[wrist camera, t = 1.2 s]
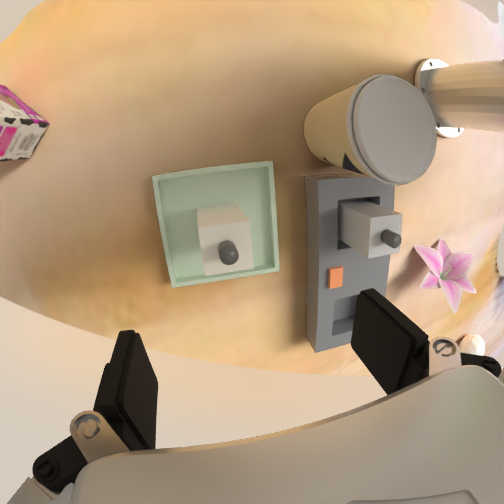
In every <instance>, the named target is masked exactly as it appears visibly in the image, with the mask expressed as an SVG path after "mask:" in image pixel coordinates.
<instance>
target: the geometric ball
mask: <svg viewBox="0 0 504 504" xmlns="http://www.w3.org/2000/svg"><path fill="white" fill-rule="evenodd" d="M484 348H485V343H484V341H483V339H482V338H481V336H479V335H476V334H473V333H472V334H470V335H468V336H466V337H464V338H463V339H462V340H461V342H460V344H459V349H460V352H461V353H468V354H474V355H481V356H483V354H484Z"/></svg>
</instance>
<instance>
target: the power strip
mask: <svg viewBox="0 0 504 504" xmlns="http://www.w3.org/2000/svg"><path fill="white" fill-rule="evenodd" d="M305 196H306V225H307V324H306V338H307V340H308V341H309V343H310V345H311V346H312V348H313V350H314V351H315V353H317V352H320V351H324V350H328V349H331V348H335V347H338V346H342V345H345V344H348V343H351V337H352V330H353V323H354V316H355V309H356V300H357V296H358V295H359V294H360V292H361V291H362V290H366V289H370V288H374V289H375V290H376V291H378V292H379V293H380V294H381V295H382V296H384V297H385V292H386V285H387V278H388V270H389V262H390V254H389V255H384V256H379V257H374V258H369V259H368V258H367V257H365V256H364V255H362V254H361V253H359V252H358V251H356V250H355V249H353V248H352V247H350V246H349V245H347V244H346V243H344V242H343V241H341V240H340V239H338V200H350V199H363V200H366V201H369V202H371V203H374V204H377V205H380V206H382V207H385V208H388V209H390V210H393V211H394V185H390V184H386V183H383V182H381V181H379V180H377V179H375V178H372V177H369V176H366V175H363V174H360V173H359V174H334V175H316V176H305Z"/></svg>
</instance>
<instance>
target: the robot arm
mask: <svg viewBox="0 0 504 504" xmlns="http://www.w3.org/2000/svg"><path fill="white" fill-rule="evenodd" d="M415 87H416V88H417V89H418V90H419V91H420V93H421V94H422V95H423V96H424V98H425V99H426V101H427V102H428V104H429V106H430V108H431V111H432V113H433V116H434V120H435V124H436V133H437V134H439V135H440V136H443V137H448V138H454V137H457V136H459V135H460V134H461V133H462V132H463V130H464V129H477V130H488V131H497V132H504V60H495V61H483V62H474V63H466V64H458V65H451V66H448V65H447V64H446V63H445V62H443V61H441V60H439V59H427V60H425V61H423V62H421V64H420V65H419V66H418V68H417V70H416V75H415ZM428 337H429V336H428V335H427V334H426V333H425V332H424V331H422V330H421V329H420V328H419V327H418V326H417V325H416V324H415V323H413V322H412V321H411V320H410V319H409V318H408V317H407V316H406V315H404V314H403V313H402V312H401V311H400V310H399V309H398V308H396V307H395V306H394V305H393V304H392V303H391V302H389V301H388V300H387V299H386V298H385V297H384V296H382V295H381V294H380V293H379V292H378V291H376V290H375V289H374V288H370V289H366V290H362V291H361V292H360V294H359V295H358V296H357V300H356V309H355V316H354V323H353V330H352V337H351V346H352V349H353V350H354V351H355V353H356V354H357V355H358V357H359V358H360V359H361V360H362V362H363V363H364V364H365V366H366V367H367V368H368V370H369V371H370V372H371V374H372V375H373V376H374V378H375V379H376V380H377V382H378V383H379V384H380V386H381V387H382V388H383V390H384V391H385V392H386V393H387V396H385V397H383V398H380V399H378V400H376V401H373V402H371V403H368V404H365V405H363V406H361V407H358V408H355V409H352V410H350V411H347V412H344V413H341V414H338V415H335V416H332V417H329V418H326V419H323V420H320V421H316V422H313V423H310V424H306V425H302V426H299V427H295V428H291V429H287V430H283V431H280V432H275V433H271V434H266V435H261V436H256V437H251V438H246V439H240V440H235V441H228V442H221V443H215V444H206V445H197V446H189V447H177V448H162V449H155V442H156V441H155V440H156V414H157V395H158V381H157V378H156V376H155V373H154V371H153V368H152V366H151V363H150V361H149V358H148V356H147V353H146V350H145V348H144V345H143V342H142V340H141V337H140V334H139V333H135V331H134V330H125V331H120V332H119V335H118V338H117V341H116V344H115V347H114V351H113V354H112V358H111V361H110V363H107V364H106V366H105V368H104V371H103V375H102V378H101V382H100V385H99V389H98V393H97V397H96V400H95V404H94V408H93V411H84V412H81V413H79V414H78V415H77V416H75V417H74V419H73V420H72V421H71V424H70V432H71V436H69V437H68V438H67V439H65V440H63V441H62V442H61V443H59V444H58V445H56V446H55V447H53V448H52V449H50V450H49V451H47V452H45V453H44V454H42V455H41V456H39V457H38V458H37V459H36V460H35V462H34V464H33V475H34V476H33V477H32V479H31V478H29V477H28V478H27V479H26V481H25V482H24V483H23V484H22V485H21V487H20V488H19V489H18V490H17V492H16V493H15V494H14V495H13V497H12V498H11V499H10V500H9V502H8V503H7V504H504V368H503V370H501V366H500V364H499V363H498V362H497V361H496V360H495V359H494V358H492V357H488V356H481V355H474V354H468V353H461V352H460V349H459V346H458V345H457V343H456V342H455V341H453V340H452V339H449V338H446V337H437V338H434V339H433V340H431V342H429V341H428Z"/></svg>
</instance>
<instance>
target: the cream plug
mask: <svg viewBox="0 0 504 504" xmlns="http://www.w3.org/2000/svg"><path fill="white" fill-rule="evenodd" d="M197 221H198V233H199V240H200V246H201V253H202V259H203V265H204V271H205V276H208V275H214V274H221V273H227V272H234V271H240V270H246V269H253V268H254V262H253V251H252V240H251V228H250V220H249V219H248V218H247V217H246V215H245V214H244V213H243V212H242V210H241V209H240V208H239V206H238V205H237V204H236V203H228V204H220V205H213V206H206V207H199V208H197Z"/></svg>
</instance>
